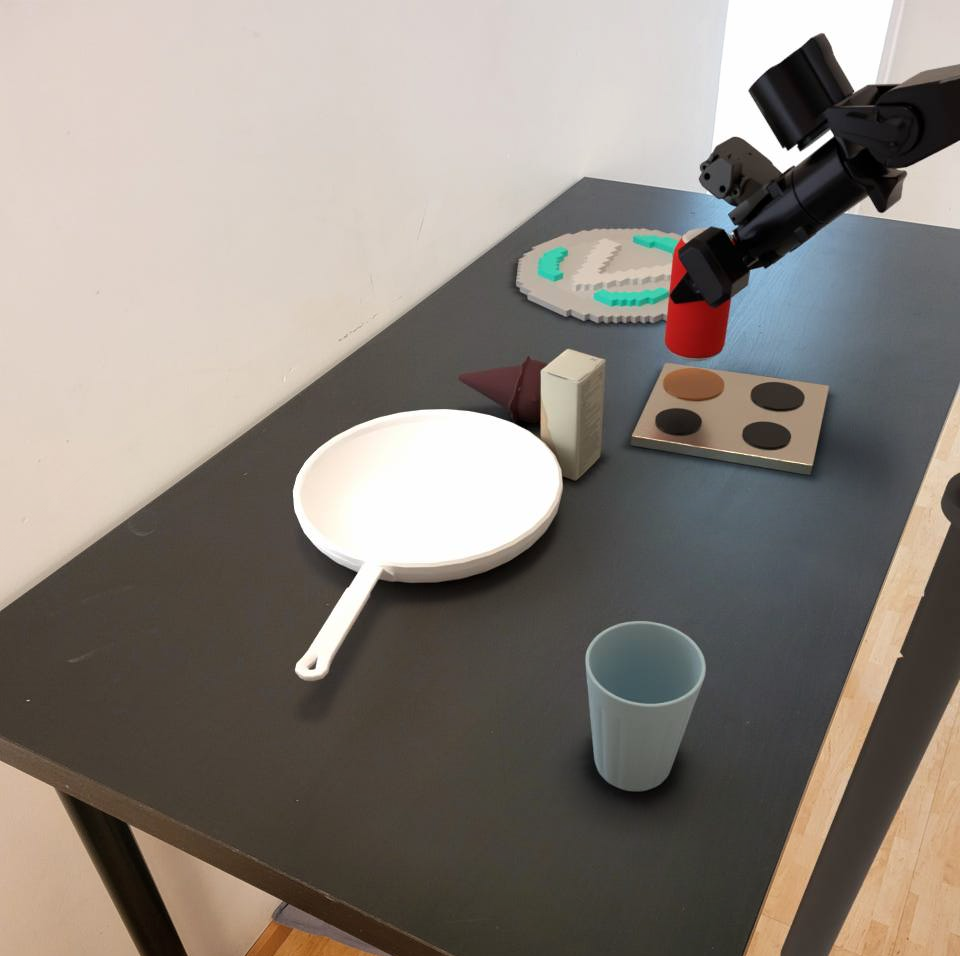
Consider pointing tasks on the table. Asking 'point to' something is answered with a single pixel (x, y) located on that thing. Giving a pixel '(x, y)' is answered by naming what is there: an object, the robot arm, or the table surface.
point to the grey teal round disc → (602, 274)
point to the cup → (640, 700)
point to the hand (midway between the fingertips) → (688, 287)
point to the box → (573, 410)
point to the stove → (733, 418)
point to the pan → (421, 505)
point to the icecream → (511, 388)
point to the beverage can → (694, 318)
